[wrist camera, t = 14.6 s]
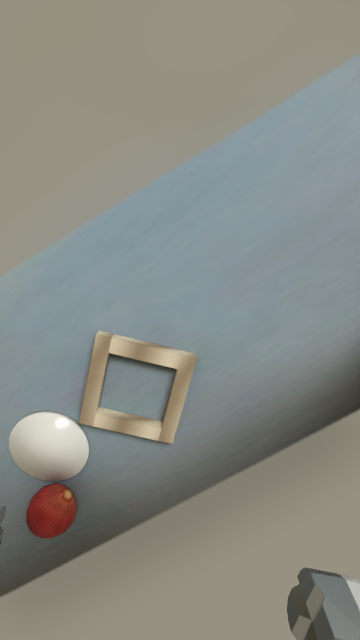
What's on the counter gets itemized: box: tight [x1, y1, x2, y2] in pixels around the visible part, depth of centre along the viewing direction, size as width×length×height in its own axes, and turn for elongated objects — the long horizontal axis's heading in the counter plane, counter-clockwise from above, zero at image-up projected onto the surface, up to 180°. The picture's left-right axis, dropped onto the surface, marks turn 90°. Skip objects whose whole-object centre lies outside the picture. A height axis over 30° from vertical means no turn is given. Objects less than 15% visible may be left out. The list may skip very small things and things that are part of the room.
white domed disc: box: [9, 411, 90, 481], centre depth 42 cm, size 10×10×1 cm
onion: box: [27, 483, 77, 538], centre depth 41 cm, size 6×6×8 cm
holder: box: [79, 331, 197, 444], centre depth 39 cm, size 12×12×2 cm
